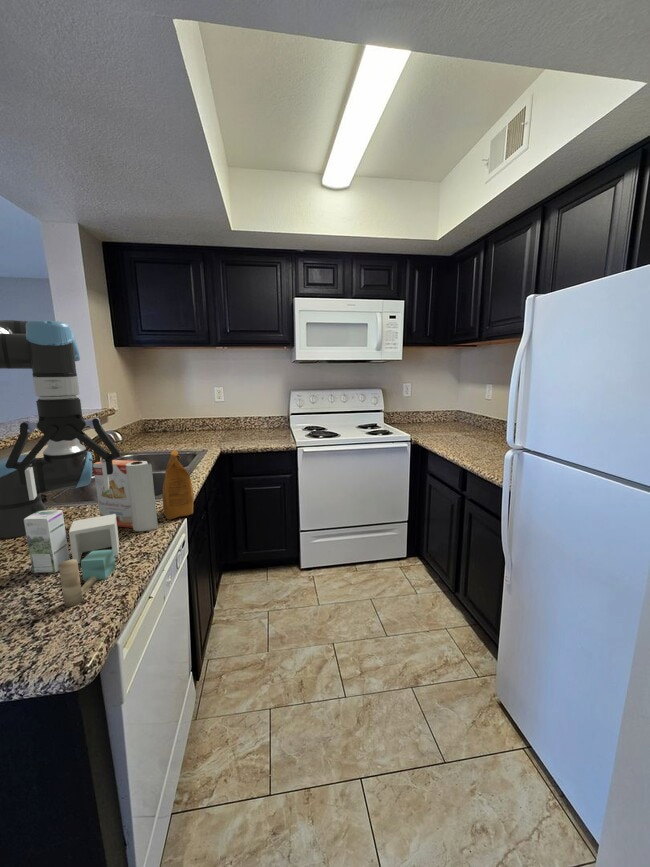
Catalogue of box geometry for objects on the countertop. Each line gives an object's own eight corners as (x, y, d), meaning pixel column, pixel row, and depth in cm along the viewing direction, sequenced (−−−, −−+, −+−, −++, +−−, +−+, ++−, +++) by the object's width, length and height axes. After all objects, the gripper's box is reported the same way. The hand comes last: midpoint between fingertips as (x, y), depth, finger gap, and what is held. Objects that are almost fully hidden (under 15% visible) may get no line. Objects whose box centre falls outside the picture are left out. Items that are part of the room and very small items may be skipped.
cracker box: (100, 525, 116) (91, 463, 113) (115, 518, 122) (107, 458, 119) (135, 529, 112) (127, 464, 109) (149, 521, 118) (142, 460, 115)
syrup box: (71, 561, 94) (63, 508, 92) (55, 573, 88) (46, 517, 86) (49, 562, 94) (40, 509, 91) (31, 574, 88) (22, 518, 86)
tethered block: (94, 569, 90) (90, 535, 88) (115, 568, 90) (111, 534, 89) (56, 607, 75) (50, 568, 73) (81, 605, 75) (76, 566, 74)
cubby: (77, 551, 99) (73, 520, 98) (119, 543, 104) (115, 513, 102) (73, 564, 92) (68, 531, 91) (118, 555, 97) (114, 523, 95)
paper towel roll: (131, 528, 114) (123, 462, 111) (151, 522, 118) (144, 459, 115) (137, 535, 109) (129, 466, 105) (158, 529, 113) (151, 463, 109)
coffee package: (193, 505, 134) (188, 447, 130) (195, 516, 122) (190, 453, 119) (164, 509, 130) (158, 450, 126) (163, 522, 118) (157, 457, 115)
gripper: (-28, 401, 67) (-8, 508, 71) (125, 396, 78) (134, 489, 82) (-13, 398, 73) (4, 496, 77) (126, 394, 85) (135, 480, 88)
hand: (71, 493), depth 80 cm, fingers open, 13 cm apart
